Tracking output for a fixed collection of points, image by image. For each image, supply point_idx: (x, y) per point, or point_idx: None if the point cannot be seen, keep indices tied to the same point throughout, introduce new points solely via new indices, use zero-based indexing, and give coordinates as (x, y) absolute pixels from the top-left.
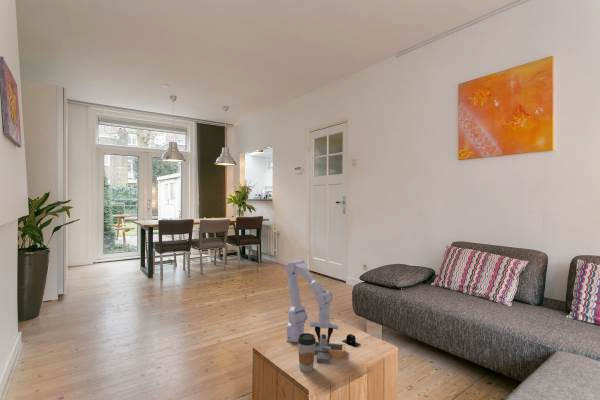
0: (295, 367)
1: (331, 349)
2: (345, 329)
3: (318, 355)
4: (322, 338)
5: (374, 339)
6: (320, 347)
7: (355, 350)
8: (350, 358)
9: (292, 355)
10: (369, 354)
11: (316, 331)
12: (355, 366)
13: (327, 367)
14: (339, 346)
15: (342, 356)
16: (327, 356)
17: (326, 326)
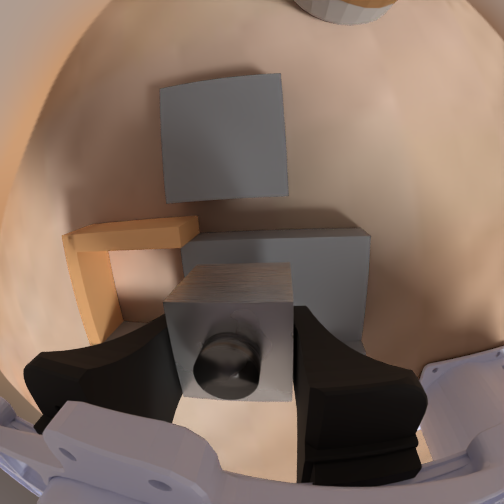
0: (411, 3)
1: (156, 246)
2: None
3: (276, 125)
4: (242, 306)
5: None
6: None
7: (69, 339)
8: (60, 233)
9: (482, 163)
10: (15, 304)
11: (379, 371)
12: (30, 144)
13: (181, 43)
14: None
15: (93, 225)
16: (183, 135)
17: (52, 466)
